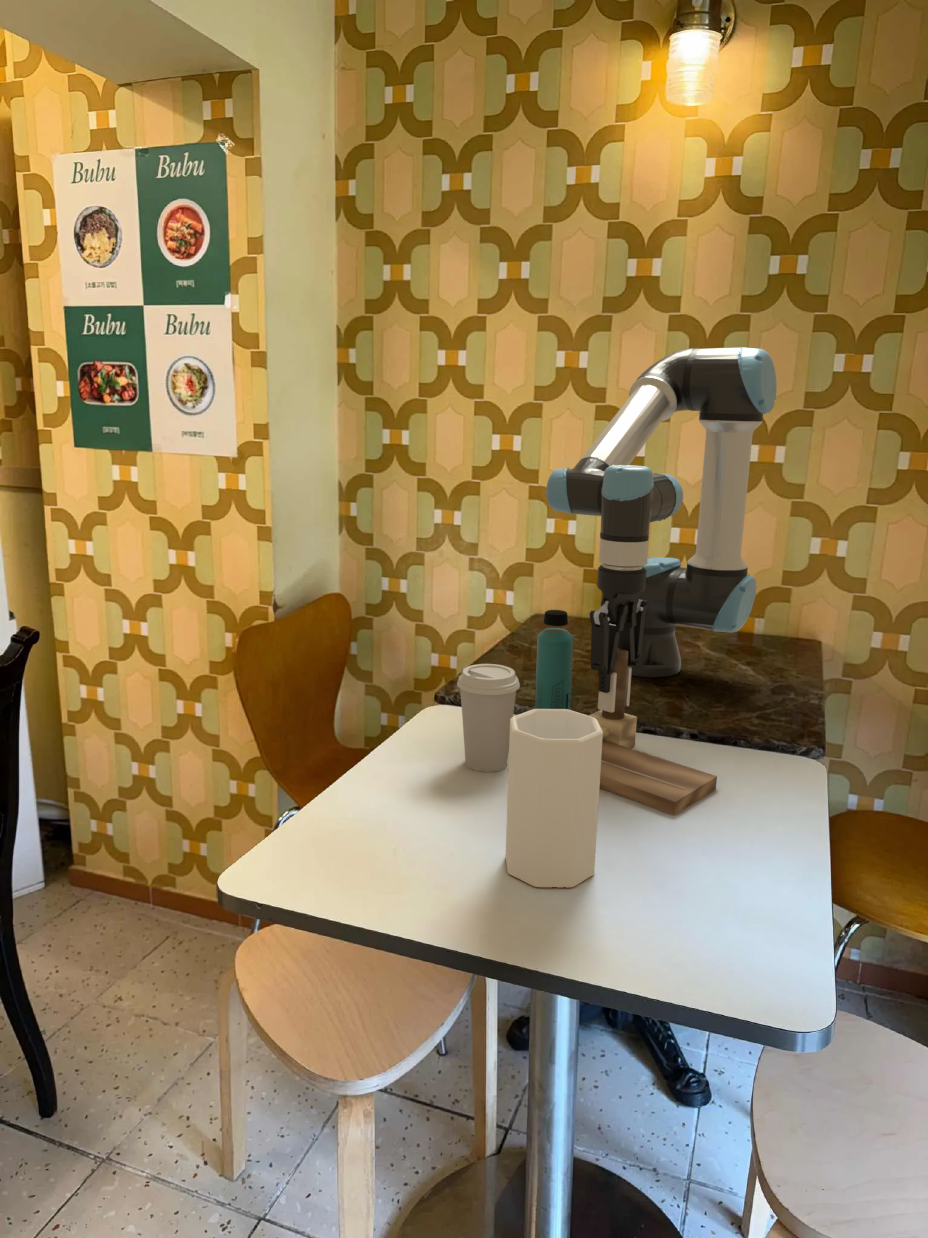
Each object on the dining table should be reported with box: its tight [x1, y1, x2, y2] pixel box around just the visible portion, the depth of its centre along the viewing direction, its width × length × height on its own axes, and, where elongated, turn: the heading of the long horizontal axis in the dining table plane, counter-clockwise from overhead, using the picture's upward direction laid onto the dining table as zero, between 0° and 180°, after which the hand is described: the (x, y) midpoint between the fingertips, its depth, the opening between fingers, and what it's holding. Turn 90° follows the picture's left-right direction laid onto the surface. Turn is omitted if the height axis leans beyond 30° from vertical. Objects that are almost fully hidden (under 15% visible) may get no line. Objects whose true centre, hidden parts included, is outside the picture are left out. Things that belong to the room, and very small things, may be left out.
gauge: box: [588, 648, 638, 749], centre depth 143 cm, size 15×6×16 cm, turn 137°
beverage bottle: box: [533, 609, 574, 710], centre depth 156 cm, size 6×7×20 cm
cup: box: [505, 708, 603, 889], centre depth 108 cm, size 11×11×18 cm
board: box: [599, 740, 718, 816], centre depth 136 cm, size 12×26×2 cm, turn 47°
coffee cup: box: [456, 663, 521, 773], centre depth 138 cm, size 10×10×15 cm
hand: (613, 706), depth 147 cm, fingers closed on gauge, 4 cm apart
